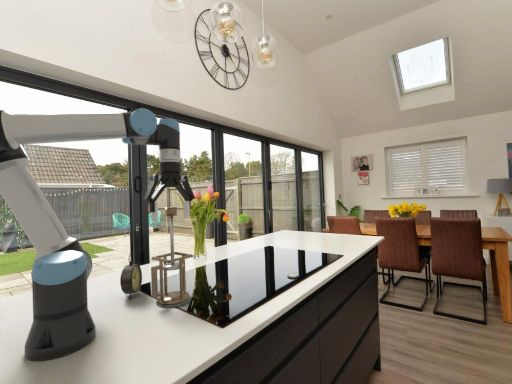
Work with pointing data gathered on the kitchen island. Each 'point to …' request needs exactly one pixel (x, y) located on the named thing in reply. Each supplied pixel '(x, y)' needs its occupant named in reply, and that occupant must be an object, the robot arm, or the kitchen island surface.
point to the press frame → (171, 297)
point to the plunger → (171, 239)
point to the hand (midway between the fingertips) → (171, 219)
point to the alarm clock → (131, 278)
